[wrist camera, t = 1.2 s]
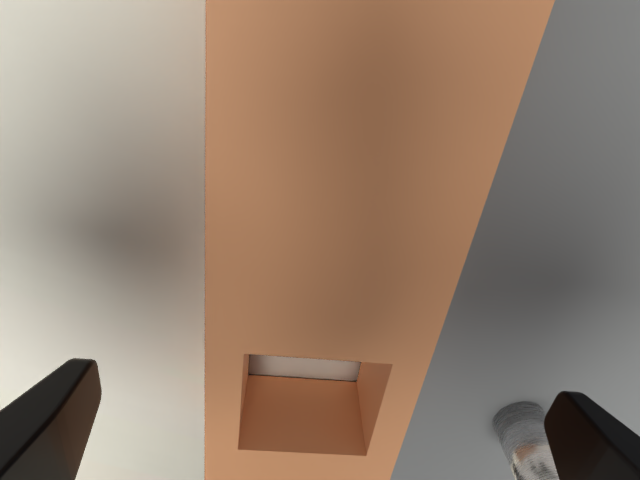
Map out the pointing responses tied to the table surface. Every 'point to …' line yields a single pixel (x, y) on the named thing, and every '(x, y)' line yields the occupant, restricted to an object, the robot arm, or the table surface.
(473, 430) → the mat
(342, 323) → the link
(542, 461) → the cylinder
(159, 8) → the table surface
